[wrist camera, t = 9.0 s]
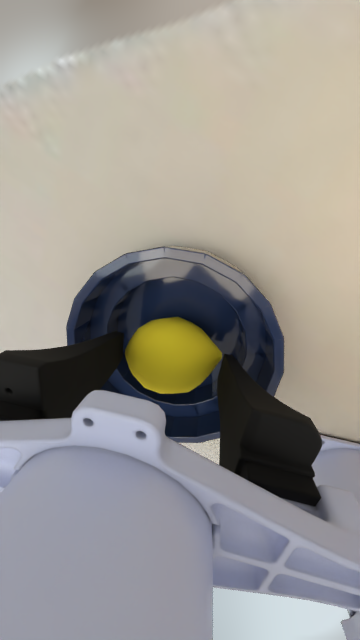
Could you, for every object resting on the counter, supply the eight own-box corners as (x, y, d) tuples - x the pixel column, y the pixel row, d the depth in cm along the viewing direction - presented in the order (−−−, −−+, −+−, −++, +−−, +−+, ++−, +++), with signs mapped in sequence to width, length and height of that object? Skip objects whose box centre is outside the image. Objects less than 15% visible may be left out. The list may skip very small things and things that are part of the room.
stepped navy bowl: (291, 264, 14) (324, 273, 10) (239, 415, 20) (247, 462, 15) (100, 233, 15) (59, 229, 11) (99, 383, 21) (71, 418, 16)
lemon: (140, 363, 18) (114, 408, 13) (134, 306, 17) (101, 333, 12) (218, 368, 17) (221, 418, 12) (221, 308, 16) (226, 338, 11)
